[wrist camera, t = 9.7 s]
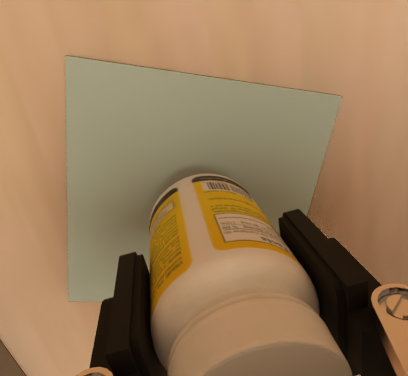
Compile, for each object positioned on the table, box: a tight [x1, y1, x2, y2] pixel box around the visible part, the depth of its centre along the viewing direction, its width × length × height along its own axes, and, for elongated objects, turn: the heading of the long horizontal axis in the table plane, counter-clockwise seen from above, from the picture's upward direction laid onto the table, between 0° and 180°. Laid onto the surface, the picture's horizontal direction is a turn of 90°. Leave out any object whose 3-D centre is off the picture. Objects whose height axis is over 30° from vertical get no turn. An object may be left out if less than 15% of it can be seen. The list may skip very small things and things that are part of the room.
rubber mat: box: [65, 56, 342, 302], centre depth 16 cm, size 12×12×1 cm
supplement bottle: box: [149, 174, 352, 376], centre depth 10 cm, size 5×5×8 cm
